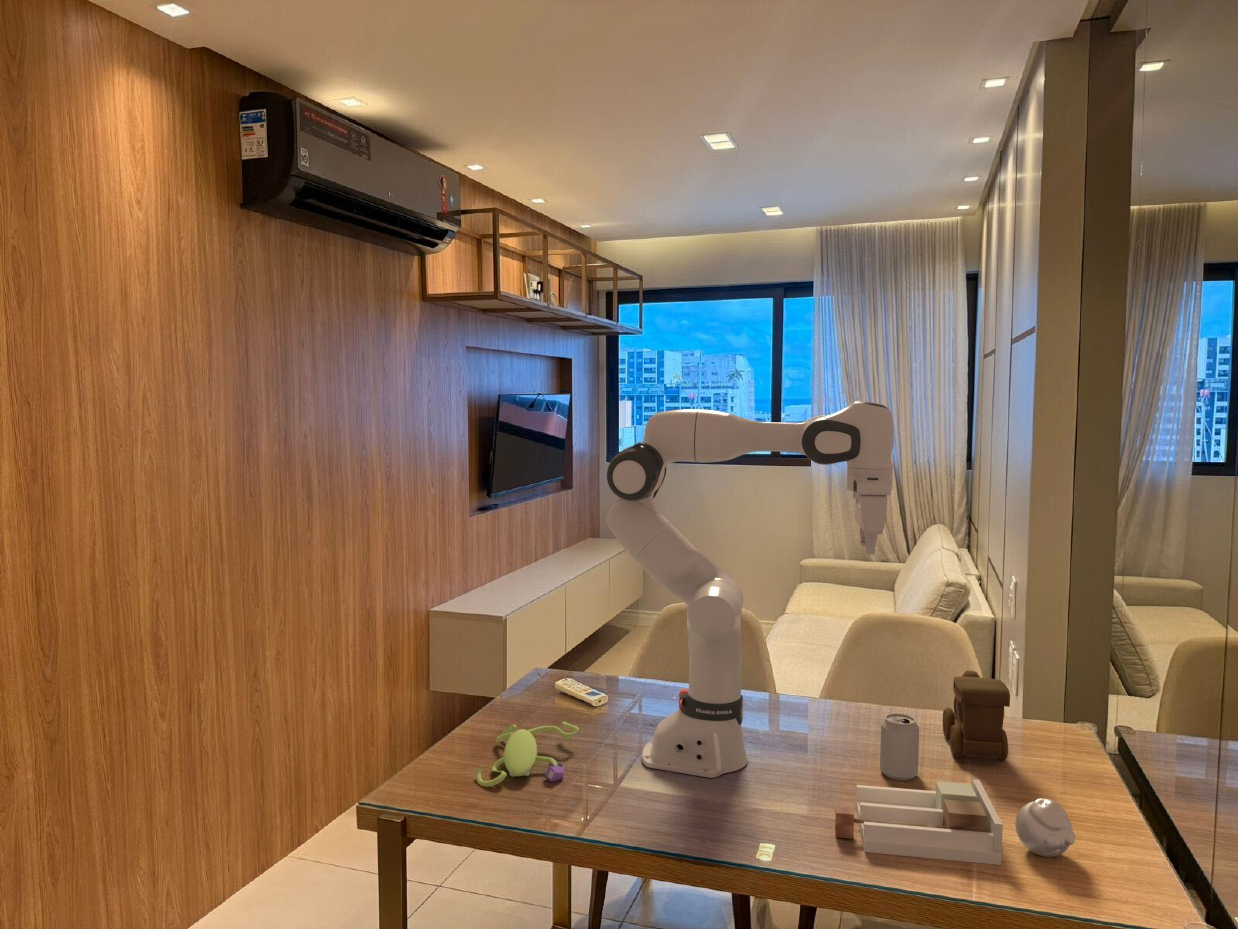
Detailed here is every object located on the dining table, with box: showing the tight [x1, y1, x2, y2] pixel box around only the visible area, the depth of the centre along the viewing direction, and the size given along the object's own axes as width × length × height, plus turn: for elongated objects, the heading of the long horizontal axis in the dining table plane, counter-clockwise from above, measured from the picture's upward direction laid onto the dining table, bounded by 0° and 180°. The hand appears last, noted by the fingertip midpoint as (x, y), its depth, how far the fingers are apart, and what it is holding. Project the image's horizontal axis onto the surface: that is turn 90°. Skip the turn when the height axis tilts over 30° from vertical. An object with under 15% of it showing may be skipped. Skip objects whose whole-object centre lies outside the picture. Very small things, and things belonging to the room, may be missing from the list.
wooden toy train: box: [942, 669, 1011, 763], centre depth 190 cm, size 20×11×17 cm, turn 168°
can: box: [879, 712, 920, 781], centre depth 177 cm, size 8×8×12 cm
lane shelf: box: [855, 778, 1004, 866], centre depth 153 cm, size 22×17×7 cm
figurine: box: [475, 721, 580, 788], centre depth 183 cm, size 18×27×6 cm
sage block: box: [935, 781, 977, 809], centre depth 156 cm, size 6×5×5 cm
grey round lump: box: [1014, 797, 1076, 858], centre depth 146 cm, size 9×10×10 cm
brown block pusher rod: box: [834, 799, 987, 840], centre depth 150 cm, size 24×5×7 cm, turn 80°
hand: (867, 549), depth 175 cm, fingers open, 8 cm apart
